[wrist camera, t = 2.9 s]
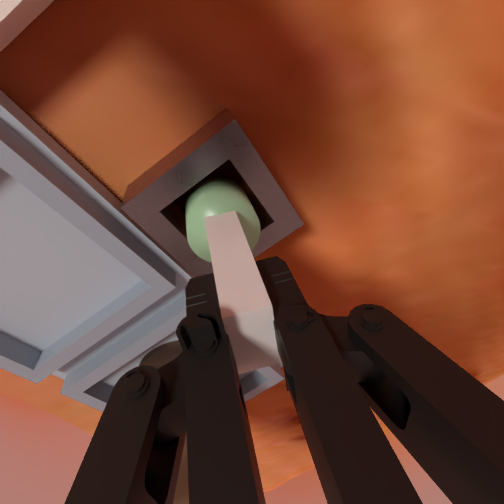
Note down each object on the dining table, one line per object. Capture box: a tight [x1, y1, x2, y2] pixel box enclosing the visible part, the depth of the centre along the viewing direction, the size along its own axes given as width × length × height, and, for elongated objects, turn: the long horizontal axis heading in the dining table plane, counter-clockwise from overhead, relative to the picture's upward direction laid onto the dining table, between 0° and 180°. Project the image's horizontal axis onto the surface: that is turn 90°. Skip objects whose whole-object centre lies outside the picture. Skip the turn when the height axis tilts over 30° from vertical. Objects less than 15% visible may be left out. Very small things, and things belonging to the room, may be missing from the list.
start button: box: [185, 178, 260, 263], centre depth 16 cm, size 4×4×3 cm
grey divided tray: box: [0, 90, 284, 412], centre depth 21 cm, size 13×27×3 cm, turn 33°
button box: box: [120, 109, 304, 277], centre depth 18 cm, size 7×7×3 cm
